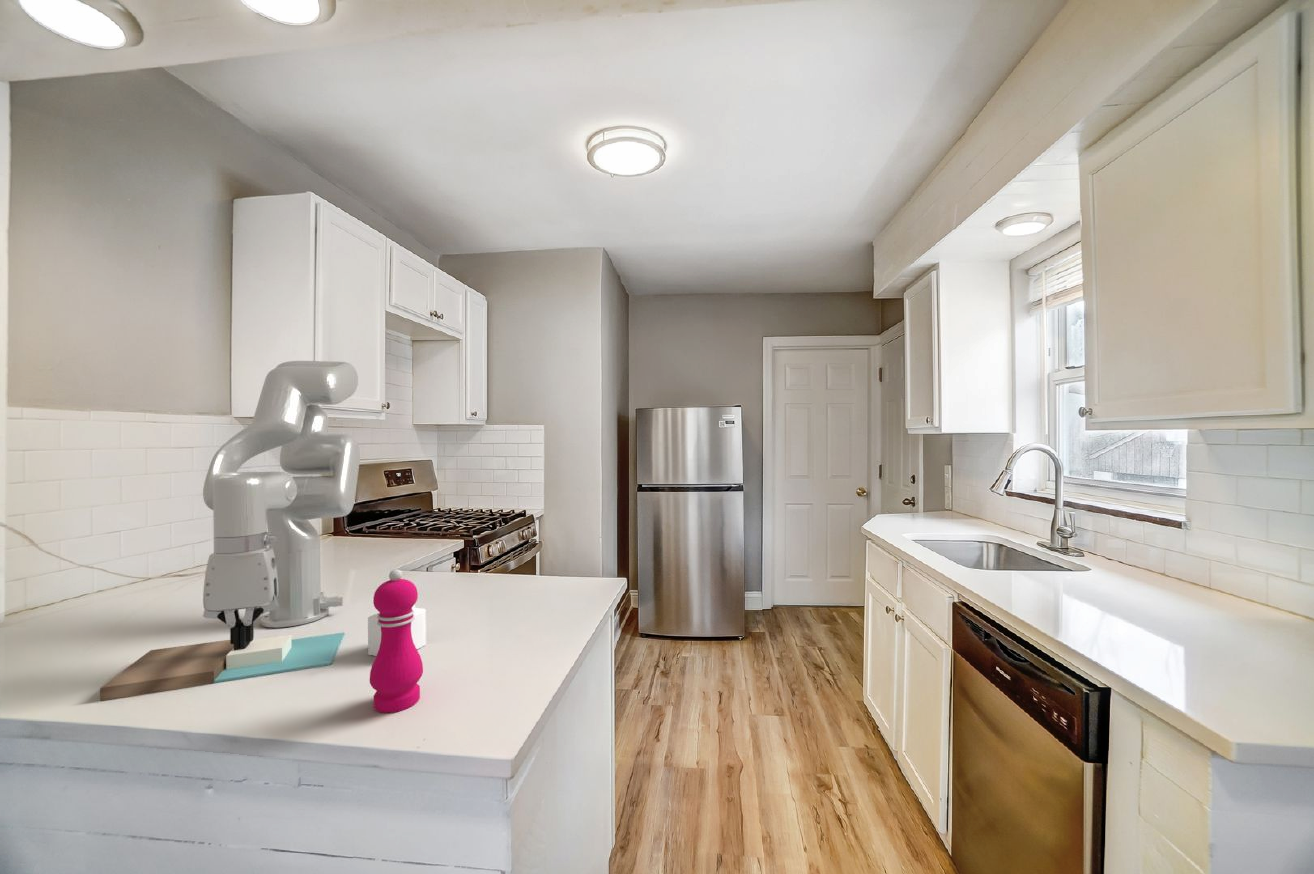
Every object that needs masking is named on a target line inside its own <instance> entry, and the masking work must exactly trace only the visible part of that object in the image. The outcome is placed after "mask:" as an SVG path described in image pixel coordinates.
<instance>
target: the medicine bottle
mask: <svg viewBox="0 0 1314 874" xmlns="http://www.w3.org/2000/svg"><path fill="white" fill-rule="evenodd" d="M412 609H413V610H414V620H413V621H412V622H411V634H412V639H413V643H414V645H415V647H416V649H418V648H420V647H422V648H424V647H426V645H427V611H426V609H425V608H419V607H416V603H415V604H414V606H413V607H412ZM378 614H380V612H378V613H375V614H373V615H370V616H368V617H367V647H368V648H367V649H368V650H367V653H368V655H369V656H371V655H374V656H373V657H376V656H377V653H378V651H379V647H380V643H381V626H379V625H378V624H377V622H378V618H377V616H378ZM423 646H424V647H423ZM420 649H421V648H420ZM418 650H419V649H418Z"/></svg>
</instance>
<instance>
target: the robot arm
mask: <svg viewBox="0 0 1314 874" xmlns="http://www.w3.org/2000/svg"><path fill="white" fill-rule="evenodd" d="M358 385H359V376H358V372H357V370H356V368H355V366H353V364H352V363H349V362H347V361H329V360H328V361H327V360H324V361H323V360H322V361H321V360H320V361H319V360H290V361H289V360H288V361H285V362H284V361H283V362H281V363H280V364H278V365H277V366H276V367H275V368H273V369H271V370H269V372H268V373H267V374H266V376H265V380H264V382H263V385H262V388H261V392H260V396H259V398H258V402H257V405H256V408H255V411H254V415H253V419H252V422H251V424H250V425H248V426H247V427H245V428H243V429H241V430H240V431H239V432H237V433H235V434H234V435H232V437H231V438H230V439H228V440H227V441H226V442H225V443H224V444H222V445H221V446H220V447H219V449H218V450H216V452H215V453H214V455H213V457H212V458H211V461H210V464H209V466H208V469H207V470H208V471H207V473H206V476H205V480H204V483H203V488H202V489H203V490H202V498H203V502H204V504H205V506H206V507H207V508H208V509H210V510H211V511H213V512H212V513H213V518H212V519H213V521H212V522H213V524H212V525H213V553H210V554H209V555H208V560H207V563H206V569H205V576H204V581H203V593H202V595H203V596H202V603H203V604H202V605H203V608H204V610H203V615H202V616H203V618H204V619H213V620H215V619H217V620H219V621H221V622H223V624H225V625H226V627H227V628H229V640H230V643H231V644H234V650H238V649H239V648H241V649H245V648H246V647H247V646H248V645H249V644H250V642H251V641H253V640H254V639H255V638H254V633H255V631H254V630H255V629H254V623H255V621H256V620H257V619H258V618H259V617H260V616H261V615H262V614H265V615H262V617H260V625H261V626H263V627H266V628H273V629H274V628H277V629H278V628H289V627H295V626H299V625H305V624H310V623H312V622H315V621H318V620H321V619H323V618H324V617H327V616H328V615H329V613H330V609H329V608H331V607H335V608H336V607H343V606H344V599H343V598H344V597H343V596H341V597H340V596H338V595H337V596H331V597H327V596H325V592H324V591H321V590H322V589H321V587H322V586H321V585H322V584H321V583H322V582H321V539H320V535H319V532H318V531H317V529H316V528H315V526H313V524H312V523H311V522H310V521H309V520H314V519H332V518H333V519H335V518H342V517H345V516H348V515H349V514H350V513H351V512H352V511H353V508H354V505H355V501H356V495H357V493H356V492H357V486H358V485H357V484H358V477H359V471H360V470H359V469H360V461H361V459H360V458H361V457H360V456H361V453H360V445H359V443H358V441H357V439H356V438H355V437H354V436H353V435H350V434H348V433H347V434H346V433H329V426H330V418H329V416H328V414H327V413H326V411H325V410H324V409H323V407H321V406H325V405H327V406H334V405H338V404H340V403H343V402H344V401H346V400H347V399H349V398H350V397H352V396H353V395H354V394H355V392H356V391H357V389H358ZM279 447H281V448H280V453H279V466H280V468H281V469H282V470H283V472H282V471H239V472H238V470H239V469H240V468H241V467H242V466H243V465H244V464H245V463H246V462H247V461H249V460H250V459H252V458H254V457H256V456H258V455H260V454H263V453H265V452H268V451H270V450H274V449H276V448H279ZM285 472H286V473H285ZM291 475H298V476H291ZM299 475H300V476H299ZM302 475H303V476H302ZM304 475H305V476H304ZM307 475H309V476H307ZM313 475H316V476H313ZM317 475H320V476H317ZM321 475H322V476H321ZM240 610H244V611H245V612H244V617H243V620H242V619H241V615H240Z"/></svg>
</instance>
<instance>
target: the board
mask: <svg viewBox="0 0 1314 874" xmlns="http://www.w3.org/2000/svg"><path fill="white" fill-rule="evenodd" d="M233 648H234V644H231V643H230V639H226V640H225V639H224V640H218V641H211V642H210V641H209V642H203V643H202V642H201V643H195V644H188V645H187V644H186V645H179V646H172V647H165V648H158V649H151V650H149V651H147V652H146V653H145V654H143V655H142V656H141V657H139V658H138V659H137V660H136V661H134V662H133V663H132V664H130V665H129V666H127V667H126V668H125V669H123V670H122V671H120V673H118V674H117V675H116V676H114V677H112V678H111V679H110V680H109V681H107V682H106V683H105V684H104V685H102V686H101V687H100V688H99V700H100V702H104V701H109V700H115V699H122V698H128V697H134V696H142V695H147V694H153V693H160V692H167V691H172V690H179V689H187V688H190V687H191V688H192V687H198V686H205V685H211V684H214V683H213V681H214V680H215V679H216V678H217V677H218V676H219V675H220V674H221V673H222V671H223V670H224V669H225V668H226V655H227V654H228V653H229V652H230V651H231V650H232V649H233ZM210 682H211V683H210Z"/></svg>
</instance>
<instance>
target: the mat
mask: <svg viewBox="0 0 1314 874" xmlns="http://www.w3.org/2000/svg"><path fill="white" fill-rule="evenodd" d="M344 636H345V632H344V631H343V632H338V633H337V632H336V633H330V634H323V635H322V634H321V635H316V636H314V635H313V636H308V637H302V638H301V637H300V638H294V639H291V644H292V647H291V649H290V650H289V652H288V653H287V655H286V656H285V658H284V659H283V661H281V662H274V663H268V664H261V665H254V666H248V667H241V668H235V669H228V670H226V668H225V669H224V670H223V671H222V673H221V674H220V675H219V676H218V677H217V678H216V679H215V680H214V681H213V683H212V684H217V683H224V682H231V681H236V680H242V679H243V680H244V679H249V678H256V677H262V676H266V675H267V676H268V675H274V674H281V673H288V672H294V671H299V670H305V669H312V668H319V667H325V666H331V665H332V664H333V661H334V659H335V657H336V654H337V652H338V650H339V648H340V646H341V644H342V641H343V639H342V638H344ZM341 640H342V641H341ZM339 645H340V646H339ZM338 647H339V648H338ZM210 683H211V682H210Z"/></svg>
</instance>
